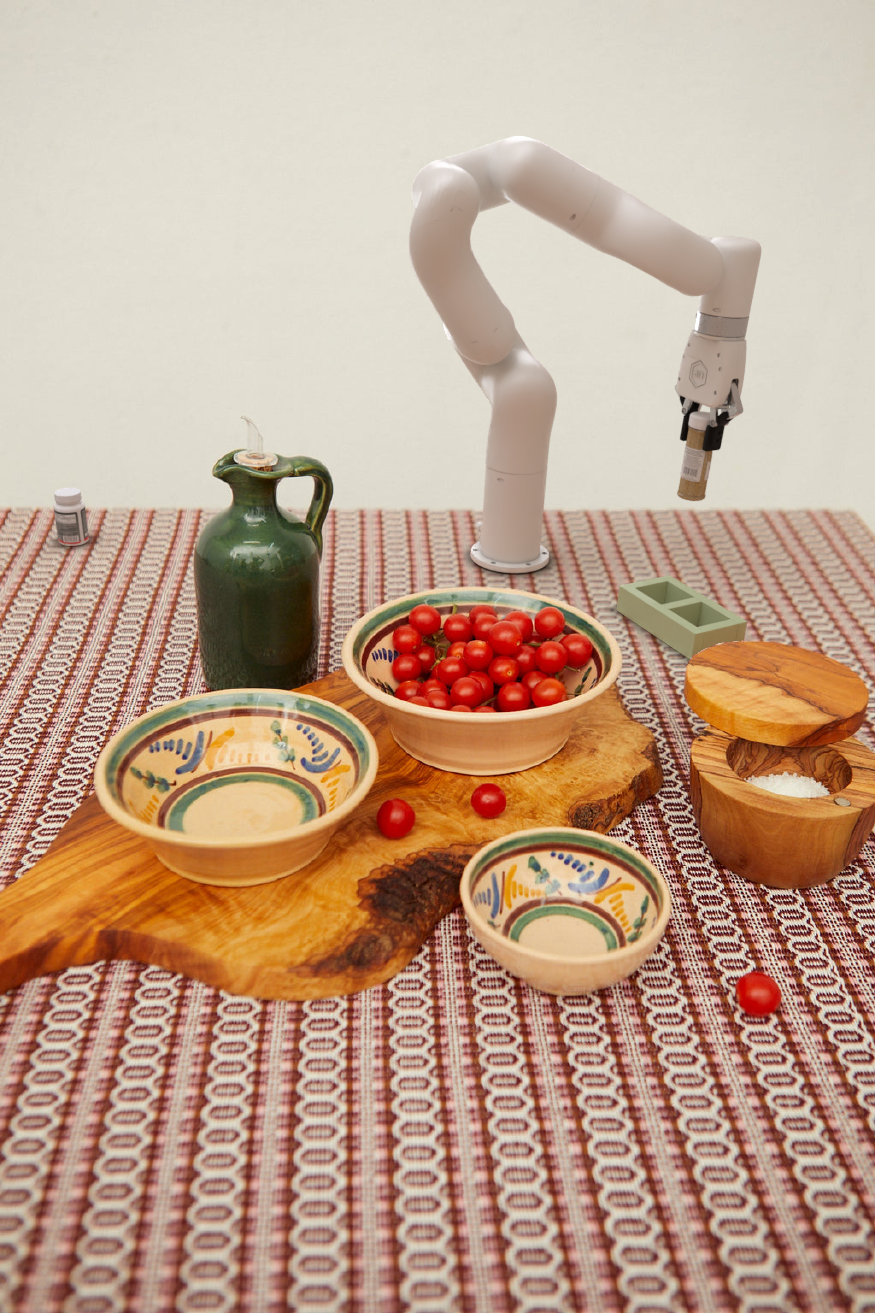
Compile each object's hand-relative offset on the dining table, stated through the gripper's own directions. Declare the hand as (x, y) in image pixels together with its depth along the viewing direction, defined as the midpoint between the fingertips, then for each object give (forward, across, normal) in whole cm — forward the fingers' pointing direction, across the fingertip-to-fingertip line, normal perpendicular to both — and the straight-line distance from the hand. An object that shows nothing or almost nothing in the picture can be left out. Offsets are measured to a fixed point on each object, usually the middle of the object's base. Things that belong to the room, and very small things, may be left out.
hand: (699, 443), depth 171 cm
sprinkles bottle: (+9, 0, 0) cm, 9 cm away
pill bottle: (+21, -44, -88) cm, 100 cm away
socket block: (+19, +21, -18) cm, 34 cm away
